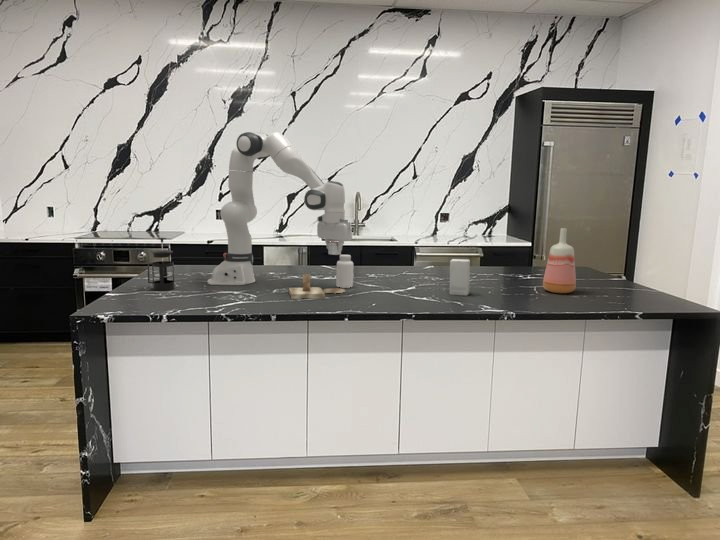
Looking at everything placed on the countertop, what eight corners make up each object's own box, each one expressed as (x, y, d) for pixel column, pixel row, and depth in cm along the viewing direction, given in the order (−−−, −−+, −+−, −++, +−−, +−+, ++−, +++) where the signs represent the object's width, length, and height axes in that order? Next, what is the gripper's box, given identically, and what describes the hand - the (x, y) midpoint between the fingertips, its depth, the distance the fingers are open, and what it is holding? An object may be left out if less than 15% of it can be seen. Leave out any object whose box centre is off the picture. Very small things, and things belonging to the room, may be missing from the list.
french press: (177, 286, 251) (176, 236, 248) (174, 290, 242) (173, 238, 238) (150, 287, 249) (148, 236, 245) (146, 291, 240) (144, 239, 236)
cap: (325, 253, 244) (325, 241, 243) (334, 252, 248) (334, 240, 247) (334, 255, 240) (334, 242, 239) (343, 253, 244) (343, 241, 244)
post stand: (291, 298, 230) (291, 277, 229) (288, 292, 244) (288, 272, 242) (324, 298, 233) (324, 277, 232) (320, 291, 246) (320, 271, 245)
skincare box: (469, 293, 248) (471, 259, 246) (467, 296, 242) (469, 261, 240) (450, 292, 251) (452, 258, 249) (448, 294, 245) (449, 260, 242)
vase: (561, 288, 265) (566, 226, 260) (582, 294, 252) (587, 229, 247) (535, 289, 260) (540, 227, 256) (555, 295, 247) (560, 229, 242)
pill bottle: (351, 288, 254) (351, 256, 252) (334, 287, 256) (334, 255, 253) (354, 285, 262) (355, 254, 260) (338, 284, 263) (338, 253, 261)
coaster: (324, 294, 241) (324, 292, 241) (321, 289, 251) (321, 288, 250) (346, 293, 243) (346, 292, 243) (342, 289, 253) (342, 287, 253)
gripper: (355, 219, 236) (355, 251, 238) (325, 216, 251) (325, 247, 253) (344, 220, 232) (344, 252, 234) (314, 217, 247) (314, 247, 249)
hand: (334, 249), depth 244 cm, fingers closed on cap, 6 cm apart
